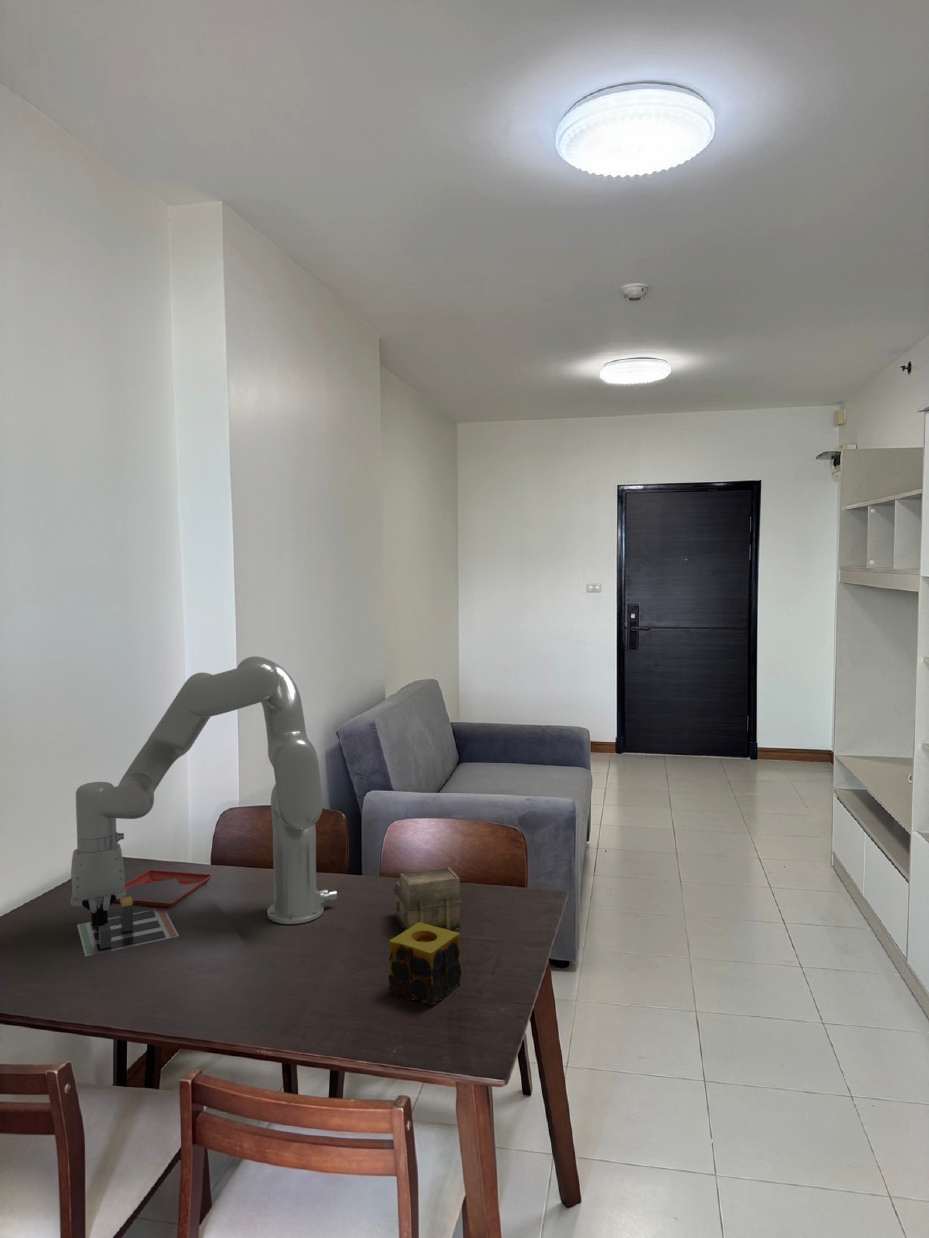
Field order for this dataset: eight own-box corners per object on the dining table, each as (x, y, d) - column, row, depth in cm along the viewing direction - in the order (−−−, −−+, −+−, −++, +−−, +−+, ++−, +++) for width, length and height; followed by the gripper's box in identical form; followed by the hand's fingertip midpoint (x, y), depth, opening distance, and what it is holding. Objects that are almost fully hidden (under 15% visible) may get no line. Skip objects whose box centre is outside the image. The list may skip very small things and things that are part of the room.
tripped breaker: (131, 924, 178) (130, 895, 177) (133, 929, 175) (132, 900, 175) (120, 926, 177) (120, 897, 176) (122, 932, 174) (122, 903, 174)
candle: (432, 1008, 147) (432, 954, 147) (387, 993, 152) (386, 940, 152) (462, 984, 156) (462, 932, 155) (418, 970, 161) (418, 920, 160)
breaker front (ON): (109, 940, 170) (109, 924, 170) (111, 946, 168) (111, 929, 167) (99, 942, 169) (98, 926, 169) (100, 948, 167) (100, 931, 166)
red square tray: (102, 909, 191) (102, 895, 191) (149, 881, 209) (149, 868, 209) (171, 917, 187) (171, 902, 187) (213, 887, 205) (213, 874, 204)
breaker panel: (164, 913, 188) (163, 906, 188) (179, 942, 173) (178, 935, 173) (77, 931, 179) (77, 924, 179) (85, 963, 164) (85, 955, 164)
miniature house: (472, 931, 179) (472, 879, 178) (410, 941, 174) (409, 888, 173) (450, 904, 193) (449, 856, 192) (391, 913, 188) (391, 864, 187)
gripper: (132, 831, 179) (134, 914, 180) (56, 843, 172) (59, 929, 173) (138, 841, 173) (140, 926, 174) (58, 854, 165) (61, 943, 166)
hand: (99, 927), depth 173 cm, fingers closed
